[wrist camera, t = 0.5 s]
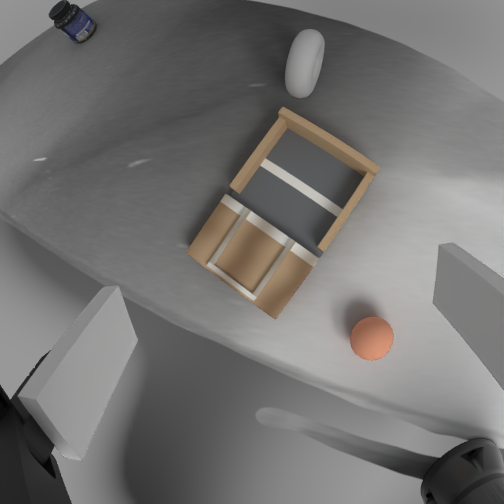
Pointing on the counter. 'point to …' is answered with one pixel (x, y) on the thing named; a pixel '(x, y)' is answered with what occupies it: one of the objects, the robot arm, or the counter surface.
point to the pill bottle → (72, 21)
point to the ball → (371, 338)
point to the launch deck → (252, 256)
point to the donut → (304, 63)
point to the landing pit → (303, 181)
